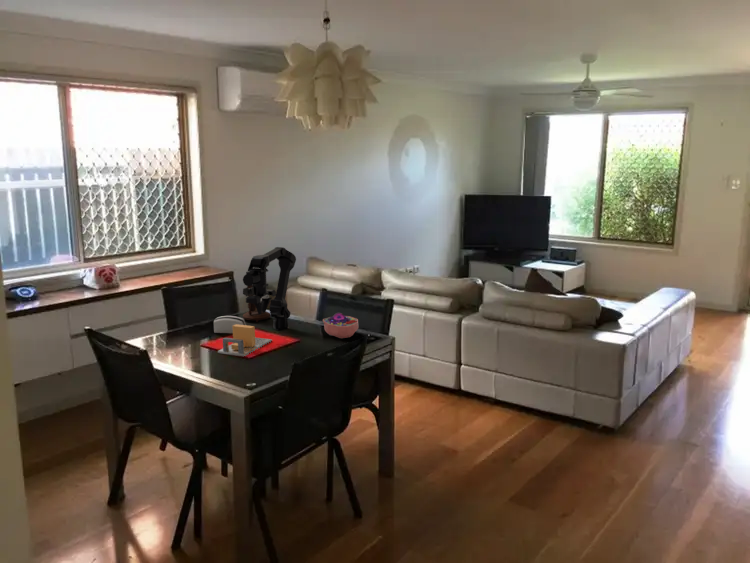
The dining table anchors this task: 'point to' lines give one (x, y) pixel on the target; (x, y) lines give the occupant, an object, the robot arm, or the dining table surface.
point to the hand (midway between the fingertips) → (261, 313)
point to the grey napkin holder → (227, 323)
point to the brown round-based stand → (254, 312)
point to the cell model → (340, 325)
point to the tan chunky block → (244, 335)
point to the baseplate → (246, 349)
